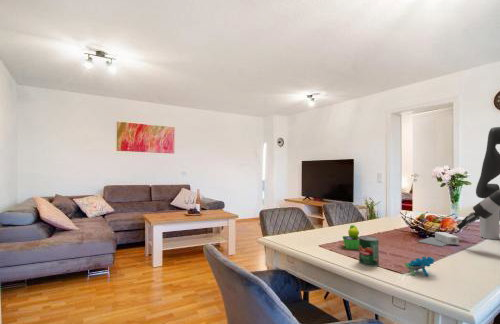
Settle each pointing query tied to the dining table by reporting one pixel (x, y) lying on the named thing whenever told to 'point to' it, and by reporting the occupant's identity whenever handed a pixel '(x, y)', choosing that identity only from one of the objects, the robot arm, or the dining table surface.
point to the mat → (433, 242)
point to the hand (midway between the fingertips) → (458, 227)
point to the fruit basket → (352, 238)
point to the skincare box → (447, 238)
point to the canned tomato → (369, 250)
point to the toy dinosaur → (420, 264)
